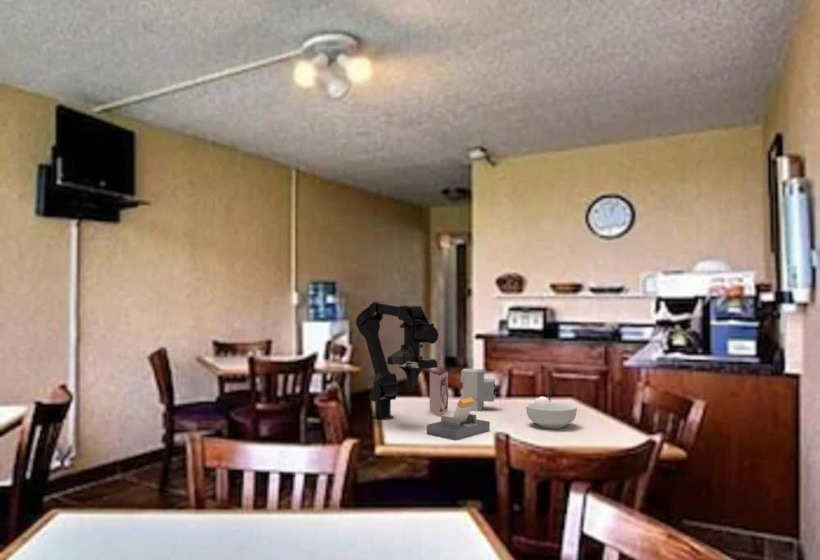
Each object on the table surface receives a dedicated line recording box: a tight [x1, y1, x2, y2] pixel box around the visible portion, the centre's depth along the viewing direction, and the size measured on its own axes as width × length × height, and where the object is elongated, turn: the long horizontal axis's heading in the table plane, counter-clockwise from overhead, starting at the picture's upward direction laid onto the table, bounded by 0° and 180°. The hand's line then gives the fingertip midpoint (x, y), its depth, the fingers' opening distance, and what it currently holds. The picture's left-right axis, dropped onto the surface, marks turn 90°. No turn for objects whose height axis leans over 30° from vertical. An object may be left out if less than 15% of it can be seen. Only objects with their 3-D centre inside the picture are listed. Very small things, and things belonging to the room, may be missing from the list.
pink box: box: [429, 371, 449, 418], centre depth 252 cm, size 11×7×15 cm, turn 161°
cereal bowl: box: [525, 401, 577, 430], centre depth 232 cm, size 17×17×7 cm
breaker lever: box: [452, 398, 475, 422], centre depth 220 cm, size 2×6×8 cm, turn 138°
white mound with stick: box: [534, 381, 557, 403], centre depth 253 cm, size 10×6×12 cm, turn 58°
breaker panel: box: [426, 413, 491, 441], centre depth 222 cm, size 12×18×6 cm, turn 138°
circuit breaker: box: [460, 368, 500, 412], centre depth 261 cm, size 8×14×15 cm, turn 78°
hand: (411, 386), depth 233 cm, fingers closed
